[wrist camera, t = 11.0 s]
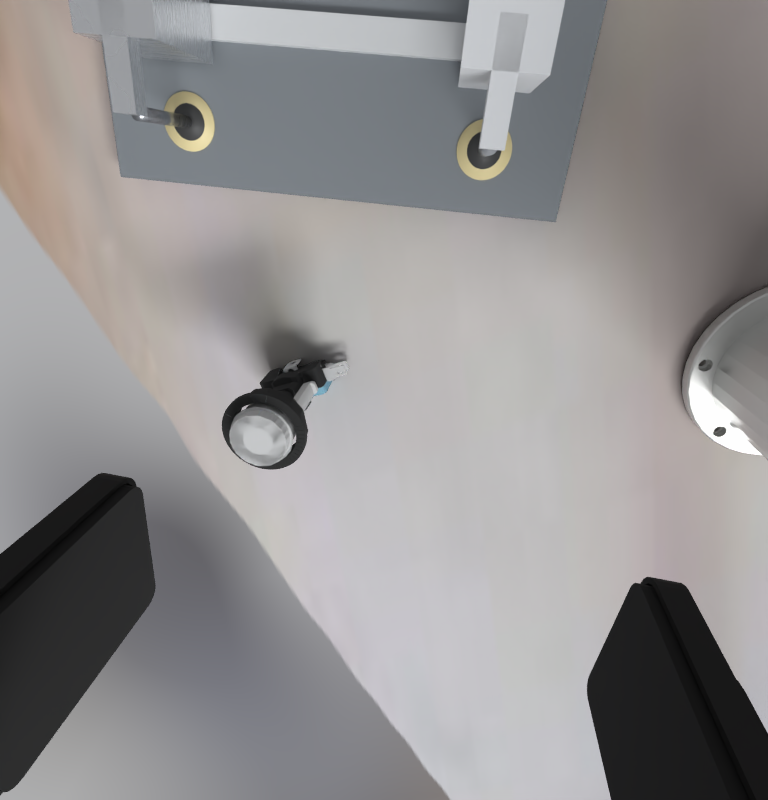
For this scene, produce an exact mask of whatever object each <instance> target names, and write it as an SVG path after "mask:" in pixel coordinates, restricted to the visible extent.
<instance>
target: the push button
mask: <svg viewBox="0 0 768 800" xmlns="http://www.w3.org/2000/svg"><path fill="white" fill-rule="evenodd" d="M300 361H301V359H298V360H294V361H291V362H289V363H288V364H287V365H286V366H285V368H284V369H283V371H284V372H282V371H281V369H280V368H278V369H275V370H272V371H270V372H269V373H268V374H267V375H266V376H265V377H264V379H263V380H262V381H261V382H260V385H261V387H262V389H255V390H253V391H252V392H251V393H247V394H244V395H242V396H240V397H238V398H237V399H235V400H234V401H233V402H232V403H231V404H230V405H229V406H228V408H227V409H226V411H225V413H224V416H223V420H222V431H223V435H224V438H225V441H226V442H227V444H228V446H229V447H230V449H231V450H232V451H233V452H234V453H235V455H237V456H238V457H239V458H240V459H242V460H243V461H245V462H246V463H248V464H250V465H252V466H255V467H258V468H262V469H280V468H284V467H287V466H289V465H291V464H292V463H294V462H295V461H296V460H297V459H298V458H299V457H300V455H301V454H302V452H303V450H304V448H305V446H306V442H307V433H308V429H307V424H306V420H305V415H304V411H305V410H306V409H307V408H308V406H309V405H310V403H311V400H312V398H313V397H314V396H316V395H321V394H324V393H326V392H327V391H328V388H329V386H330V384H331V383H332V381H333V380H335V379H334V378H337V377H340V376H344V375H346V374H347V372H346V371H347V370H349V366H348V364H347V361H342V362H338V363H335V364H333V363H332V362H331V363H328V364H326V362H325V360H322V361H319V360H318V361H314V362H312V363H310V364H308V365H305V366H301V367H298V368H297V365H298V364H299V362H300ZM292 363H294V364H292ZM341 364H342V365H341ZM339 365H341V366H339ZM340 372H342V373H341V374H339V373H340ZM246 405H249V406H248V407H247V408H246V409H244V410H242V411H241V409H242V407H244V406H246ZM295 435H296V443H295V444H293V439H294V437H295ZM292 444H293V445H292Z"/></svg>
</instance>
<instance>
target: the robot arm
mask: <svg viewBox="0 0 768 800" xmlns="http://www.w3.org/2000/svg"><path fill="white" fill-rule="evenodd" d="M701 361H702V362H701ZM700 362H701V363H700ZM682 395H683V399H684V404H685V408H686V410H687V412H688V414H689V415H690V417H691V419H692V421H693V422H694V423H695V424H696V425H697V426H698V428H699V429H700V430H701V431H702V432H703V433H704V434H705V435H706V436H707V437H708V438H710V439H711V440H712V441H714V442H716V443H718V444H719V445H721V446H723V447H725V448H727V449H731V450H734V451H737V452H740V453H746V454H753V455H763V456H764V457H765V458H766V459H767V460H768V287H767V288H764V289H762V290H759V291H757V292H754V293H752V294H751V295H749V296H747V297H745V298H744V299H742V300H740V301H738V302H737V303H735V304H734V305H732V306H731V307H730V308H728V309H727V310H726V311H725V312H723V313H722V314H721V315H719V316H718V317H717V318H716V319H715V320H714V321H713V322H712V323H711V325H710V326H709V327H708V328H707V329H706V330H705V331H704V332H703V334H702V335H701V336H700V338H699V339H698V341H697V342H696V344H695V345H694V347H693V349H692V351H691V353H690V355H689V358H688V360H687V362H686V365H685V370H684V374H683V378H682ZM154 592H155V579H154V571H153V564H152V557H151V550H150V542H149V536H148V529H147V521H146V514H145V507H144V499H143V493H142V490H141V489H140V488H139V487H136V483H135V481H134V480H133V479H131V478H128V477H122V476H117V475H112V474H107V473H101V474H98V475H96V476H95V477H93V478H92V479H91V480H90V481H89V482H87V483H86V484H85V485H84V486H82V487H81V488H80V489H79V490H78V491H76V492H75V493H74V494H73V495H72V496H70V497H69V498H68V499H67V500H66V501H64V502H63V503H62V504H61V505H59V506H58V507H57V508H56V509H55V510H53V511H52V512H51V513H50V514H48V516H46V517H45V518H44V519H43V520H41V521H40V522H39V523H38V524H36V525H35V526H34V527H33V528H31V529H30V530H29V531H28V532H27V533H25V534H24V535H23V536H22V537H21V538H19V539H18V540H17V541H16V542H15V543H13V544H12V545H11V546H10V547H9V548H7V549H6V550H5V551H4V552H2V553H1V554H0V795H1V794H2V793H3V792H8V791H10V790H11V789H13V788H14V787H15V786H16V785H17V784H18V783H19V782H20V781H21V779H22V778H23V777H24V776H25V774H26V773H27V771H28V770H29V769H30V767H31V766H32V764H33V763H34V762H35V760H36V759H37V757H38V756H39V755H40V753H41V752H42V751H43V749H44V748H45V747H46V745H47V744H48V743H49V741H50V740H51V738H52V737H53V736H54V734H55V733H56V731H57V730H58V729H59V728H60V726H61V725H62V723H63V722H64V721H65V719H66V718H67V717H68V715H69V714H70V712H71V711H72V710H73V708H74V707H75V706H76V704H77V703H78V702H79V700H80V699H81V697H82V696H83V695H84V693H85V692H86V691H87V689H88V688H89V686H90V685H91V684H92V682H93V681H94V680H95V678H96V677H97V675H98V674H99V673H100V671H101V670H102V669H103V667H104V666H105V665H106V663H107V662H108V660H109V659H110V658H111V656H112V655H113V653H114V652H115V651H116V649H117V648H118V647H119V645H120V644H121V643H122V641H123V640H124V639H125V637H126V636H127V634H128V633H129V632H130V630H131V629H132V628H133V626H134V625H135V623H136V622H137V621H138V619H139V618H140V617H141V615H142V614H143V613H144V611H145V610H146V608H147V607H148V606H149V604H150V602H151V600H152V598H153V596H154ZM587 696H588V701H589V706H590V710H591V714H592V719H593V723H594V727H595V731H596V736H597V740H598V744H599V749H600V753H601V757H602V762H603V766H604V770H605V775H606V779H607V783H608V788H609V792H610V796H611V800H768V733H767V731H766V730H765V728H764V726H763V724H762V722H761V720H760V718H759V717H758V715H757V713H756V711H755V709H754V707H753V705H752V703H751V702H750V700H749V698H748V696H747V694H746V692H745V691H744V689H743V688H742V686H741V685H740V683H739V682H738V681H737V680H736V678H735V676H734V674H733V673H732V671H731V669H730V667H729V665H728V663H727V661H726V659H725V658H724V656H723V654H722V652H721V650H720V648H719V646H718V644H717V643H716V641H715V639H714V637H713V635H712V633H711V631H710V629H709V627H708V626H707V624H706V622H705V620H704V618H703V616H702V614H701V612H700V611H699V609H698V607H697V605H696V603H695V601H694V599H693V597H692V595H691V594H690V592H689V590H688V589H687V587H686V586H685V585H683V584H682V583H678V582H673V581H667V580H662V579H657V578H652V577H646V578H645V579H643V581H642V582H641V584H638V583H634V584H633V585H632V586H631V588H630V590H629V592H628V594H627V596H626V598H625V600H624V603H623V605H622V607H621V609H620V611H619V613H618V615H617V618H616V620H615V622H614V624H613V626H612V628H611V630H610V633H609V635H608V637H607V639H606V641H605V643H604V645H603V648H602V650H601V652H600V654H599V656H598V658H597V660H596V663H595V665H594V667H593V669H592V671H591V673H590V675H589V678H588V683H587Z"/></svg>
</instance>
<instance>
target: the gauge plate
mask: <svg viewBox="0 0 768 800" xmlns="http://www.w3.org/2000/svg"><path fill="white" fill-rule="evenodd" d="M606 3H607V0H209V5H210V22H211V39H212V56H213V64H206V63H194V62H183V61H171V60H160V59H148V58H144V57H141V61H142V70H143V79H144V88H145V97H146V106H147V107H148V108H153V109H158V110H163V111H168V112H173V113H178V114H183V115H188V116H189V117H190V118H191V119H192V126H191V127H190V128H181V127H174V126H168V125H161V124H154V123H147V122H140V121H136V120H134V119H133V117H132V115H127V114H120V113H114V112H113V109H112V102H111V94H110V87H109V80H108V73H107V66H106V59H105V52H104V45H103V43H102V47H103V54H104V61H105V68H106V75H107V82H108V90H109V97H110V104H111V111H112V118H113V125H114V132H115V139H116V146H117V153H118V160H119V167H120V174H121V177H127V178H137V179H146V180H156V181H165V182H175V183H185V184H194V185H204V186H213V187H223V188H233V189H242V190H252V191H261V192H271V193H281V194H290V195H300V196H309V197H319V198H329V199H338V200H348V201H357V202H367V203H377V204H386V205H396V206H405V207H415V208H424V209H434V210H444V211H453V212H463V213H472V214H482V215H492V216H501V217H511V218H520V219H530V220H540V221H549V222H556V218H557V214H558V210H559V205H560V201H561V197H562V192H563V188H564V184H565V180H566V175H567V171H568V167H569V162H570V158H571V154H572V149H573V145H574V141H575V137H576V132H577V128H578V124H579V119H580V115H581V111H582V106H583V102H584V98H585V94H586V89H587V85H588V81H589V76H590V72H591V68H592V63H593V59H594V55H595V51H596V46H597V42H598V38H599V33H600V29H601V25H602V20H603V16H604V12H605V8H606Z"/></svg>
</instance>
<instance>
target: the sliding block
mask: <svg viewBox="0 0 768 800" xmlns="http://www.w3.org/2000/svg"><path fill="white" fill-rule="evenodd" d="M68 2H69V8H70V14H71V20H72V26H73V32H74V33H77V34H79V35H82V36H85V37H88V38H91V39H93V40H96V41H99V42H102V43H103V45H104V52H105V59H106V66H107V73H108V80H109V87H110V94H111V102H112V109H113V112H114V113H120V114H127V115H132V117H133V119H134V120H136V121H140V122H147V123H154V124H161V125H168V126H174V127H181V128H190V127H191V126H192V119H191V118H190V117H189V116H188V115H183V114H178V113H173V112H168V111H163V110H158V109H153V108H148V107H147V106H146V97H145V88H144V79H143V70H142V61H141V57H144V58H148V59H160V60H171V61H183V62H194V63H206V64H213V56H212V39H211V22H210V5H209V0H68Z"/></svg>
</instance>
